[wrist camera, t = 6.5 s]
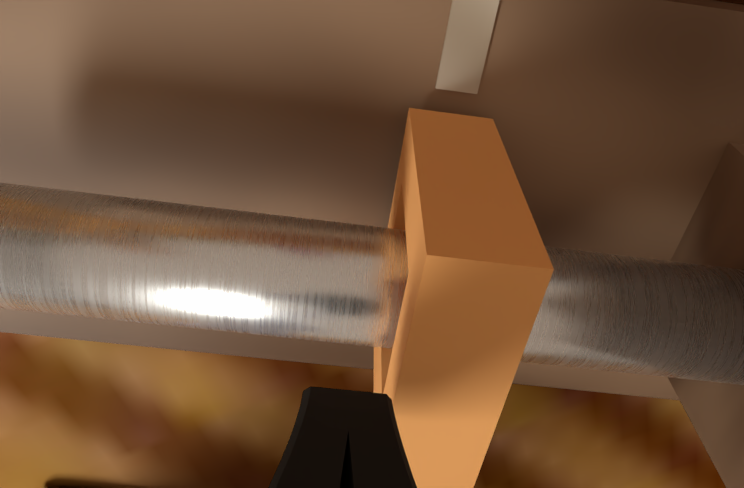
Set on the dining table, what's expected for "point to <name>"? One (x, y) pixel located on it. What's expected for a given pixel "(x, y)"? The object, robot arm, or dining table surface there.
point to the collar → (458, 293)
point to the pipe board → (392, 134)
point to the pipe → (343, 283)
